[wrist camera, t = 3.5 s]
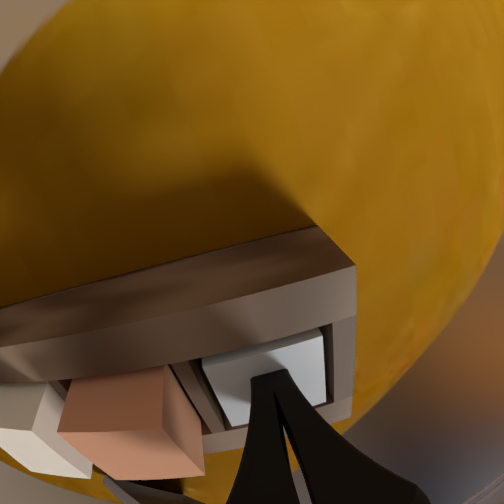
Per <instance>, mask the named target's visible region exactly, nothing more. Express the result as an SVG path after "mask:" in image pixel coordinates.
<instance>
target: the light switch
mask: <svg viewBox="0 0 504 504" xmlns="http://www.w3.org/2000/svg"><path fill="white" fill-rule="evenodd" d="M103 484H104V485H105V486H106V487H107V488H108V489H109V490H110V491H111V492H112V493H113V494H114V495H115V496H117V497H118V498H119V499H120V500H121V501H122V502H123V503H124V504H205V503H202V502H200V501H197V500H195V499H192V498H190V497H188V496H185V495H182V494H176V493H171V492H167V491H162V490H158V489H154V488H150V487H146V486H142V485H138V484H135V483H131V482H128V481H124V480H115V479H114V478H112V477H111V476H109V475H106V474H104V478H103Z"/></svg>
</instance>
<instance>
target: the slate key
mask: <svg viewBox="0 0 504 504" xmlns="http://www.w3.org/2000/svg"><path fill="white" fill-rule="evenodd" d="M202 368H203V370H204V372H205V374H206V376H207V378H208V380H209V382H210V384H211V386H212V388H213V390H214V392H215V394H216V396H217V398H218V400H219V402H220V404H221V406H222V408H223V410H224V412H225V414H226V416H227V418H228V420H229V422H230V423H231V425H232V427H233V426H238V425H243V424H247V423H249V416H250V406H251V383H250V379H251V378H252V377H254V376H258V375H262V374H266V373H270V372H273V371H277V370H281V369H284V368H285V369H288V371H289V373H290V375H291V377H292V379H293V380H294V382H295V383H296V385H297V386H298V388H299V389H300V391H301V392H302V394H303V395H304V396H305V398H306V399H307V400H308V401H309V403H310V404H311V405H312V406H314V405H318V404H321V403H324V402H326V387H325V367H324V350H323V336H322V334H321V332H320V330H319V328H318V327H317V328H314V329H310V330H307V331H304V332H300V333H297V334H293V335H290V336H286V337H283V338H279V339H276V340H272V341H268V342H264V343H261V344H257V345H253V346H249V347H245V348H241V349H237V350H233V351H228V352H224V353H220V354H215V355H211V356H207V357H202Z"/></svg>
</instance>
